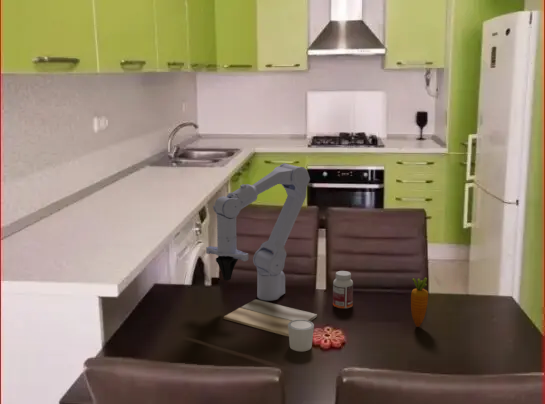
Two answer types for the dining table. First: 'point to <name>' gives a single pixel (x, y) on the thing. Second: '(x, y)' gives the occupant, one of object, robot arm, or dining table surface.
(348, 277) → the pill bottle
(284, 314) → the laid plank
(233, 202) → the robot arm
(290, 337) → the white cup
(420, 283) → the carrot
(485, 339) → the dining table surface
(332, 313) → the dining table surface
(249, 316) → the oak plank
